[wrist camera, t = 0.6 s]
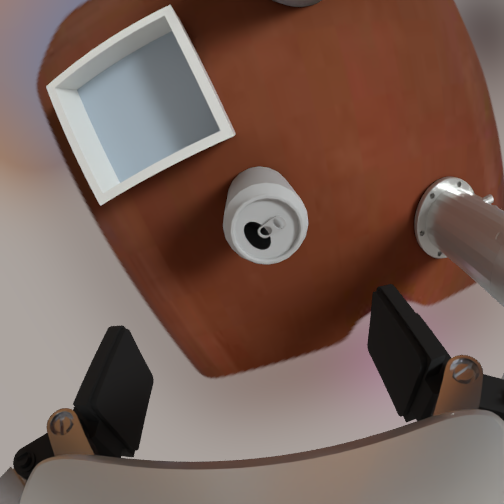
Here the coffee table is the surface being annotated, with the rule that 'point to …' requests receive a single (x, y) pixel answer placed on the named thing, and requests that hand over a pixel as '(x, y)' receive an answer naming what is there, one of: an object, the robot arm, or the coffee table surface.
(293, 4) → the pillar candle
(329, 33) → the coffee table surface
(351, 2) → the coffee table surface
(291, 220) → the can
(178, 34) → the walled box
